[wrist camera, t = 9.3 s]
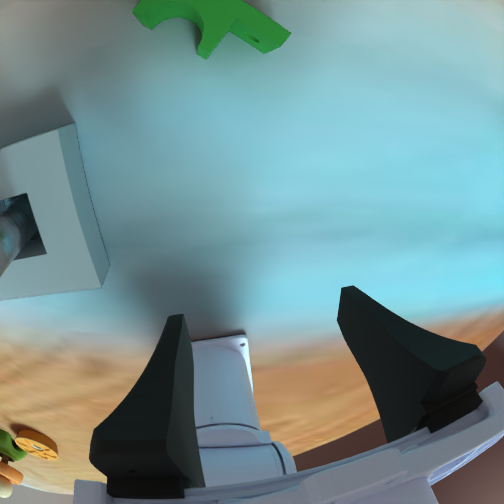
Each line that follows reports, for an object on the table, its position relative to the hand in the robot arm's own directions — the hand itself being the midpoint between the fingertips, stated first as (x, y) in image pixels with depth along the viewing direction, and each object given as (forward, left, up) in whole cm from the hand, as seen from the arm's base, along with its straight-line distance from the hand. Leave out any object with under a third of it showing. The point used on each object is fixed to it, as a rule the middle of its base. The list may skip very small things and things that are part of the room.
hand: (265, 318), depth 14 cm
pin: (+3, +16, -10) cm, 19 cm away
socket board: (+3, +16, -10) cm, 19 cm away
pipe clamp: (+14, +2, -11) cm, 18 cm away
